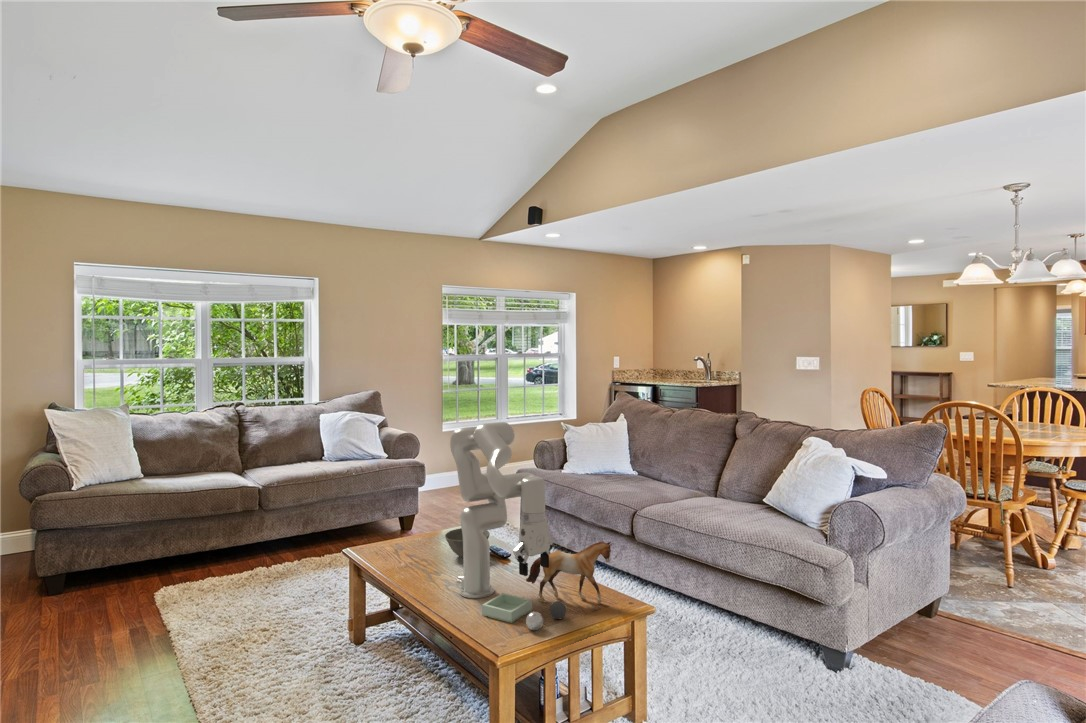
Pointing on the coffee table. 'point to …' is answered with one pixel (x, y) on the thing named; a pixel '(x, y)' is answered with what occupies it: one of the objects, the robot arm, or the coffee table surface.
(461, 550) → the bowl
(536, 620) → the steel ball
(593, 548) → the horse figurine
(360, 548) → the coffee table surface
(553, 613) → the rubber ball
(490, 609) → the tray
